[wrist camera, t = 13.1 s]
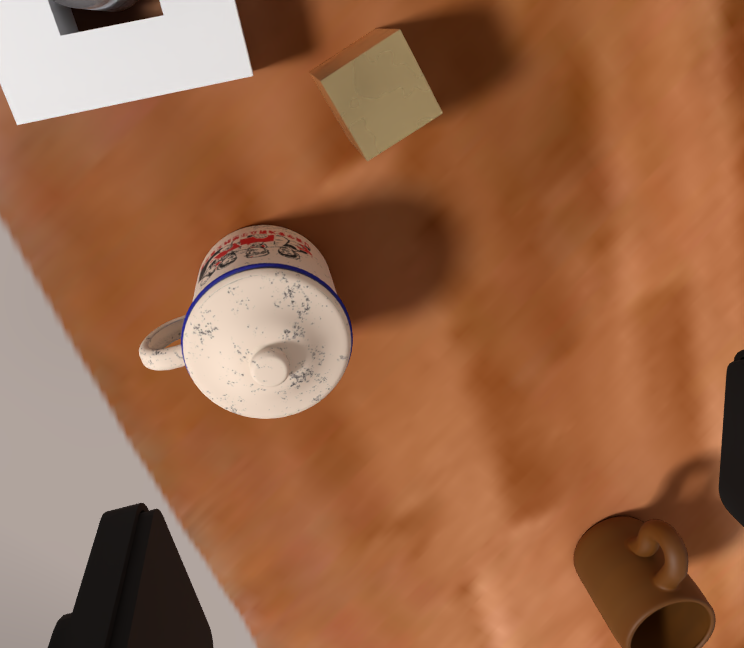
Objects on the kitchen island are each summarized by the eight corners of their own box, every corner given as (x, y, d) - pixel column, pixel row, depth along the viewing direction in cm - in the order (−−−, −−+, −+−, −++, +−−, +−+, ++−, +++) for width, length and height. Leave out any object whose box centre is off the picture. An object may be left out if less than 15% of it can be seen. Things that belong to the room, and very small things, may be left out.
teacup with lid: (315, 203, 41) (337, 263, 30) (348, 329, 45) (378, 421, 34) (126, 252, 40) (83, 332, 30) (177, 376, 44) (155, 485, 34)
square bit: (374, 28, 37) (400, 29, 31) (412, 99, 39) (442, 113, 33) (308, 71, 38) (320, 81, 31) (348, 139, 40) (367, 161, 33)
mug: (578, 478, 54) (639, 561, 46) (663, 465, 55) (738, 544, 47) (566, 585, 59) (619, 678, 51) (644, 571, 60) (709, 660, 52)
